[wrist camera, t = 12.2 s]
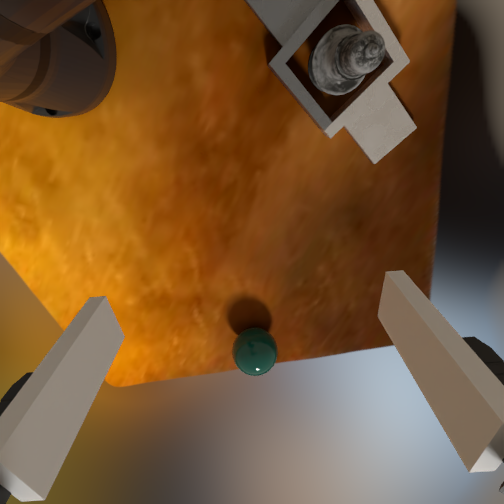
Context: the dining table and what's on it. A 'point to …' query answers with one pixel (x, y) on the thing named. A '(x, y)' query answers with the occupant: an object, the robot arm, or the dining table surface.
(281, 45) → the flanged square frame
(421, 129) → the dining table surface
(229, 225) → the dining table surface
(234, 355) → the sphere
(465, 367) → the robot arm
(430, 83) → the dining table surface
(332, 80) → the grey chess piece
